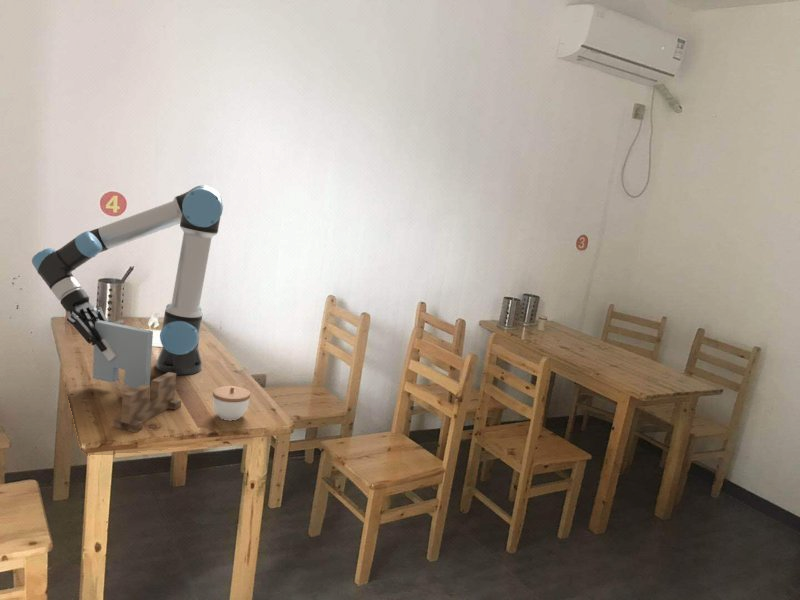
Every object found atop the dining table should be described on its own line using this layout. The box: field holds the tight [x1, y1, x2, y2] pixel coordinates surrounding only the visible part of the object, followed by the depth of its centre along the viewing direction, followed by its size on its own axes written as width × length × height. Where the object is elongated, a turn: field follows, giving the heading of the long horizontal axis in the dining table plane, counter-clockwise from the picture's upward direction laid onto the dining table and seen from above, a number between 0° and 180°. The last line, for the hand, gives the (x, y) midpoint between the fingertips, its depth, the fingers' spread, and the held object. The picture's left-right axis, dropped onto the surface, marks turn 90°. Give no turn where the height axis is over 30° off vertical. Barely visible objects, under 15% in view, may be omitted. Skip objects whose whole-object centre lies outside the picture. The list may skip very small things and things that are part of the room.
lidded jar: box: [212, 385, 251, 422], centre depth 193 cm, size 11×11×9 cm
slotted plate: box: [92, 320, 154, 389], centre depth 198 cm, size 18×2×18 cm, turn 77°
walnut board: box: [112, 372, 182, 433], centre depth 185 cm, size 22×7×10 cm, turn 167°
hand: (116, 357), depth 199 cm, fingers closed on slotted plate, 2 cm apart
